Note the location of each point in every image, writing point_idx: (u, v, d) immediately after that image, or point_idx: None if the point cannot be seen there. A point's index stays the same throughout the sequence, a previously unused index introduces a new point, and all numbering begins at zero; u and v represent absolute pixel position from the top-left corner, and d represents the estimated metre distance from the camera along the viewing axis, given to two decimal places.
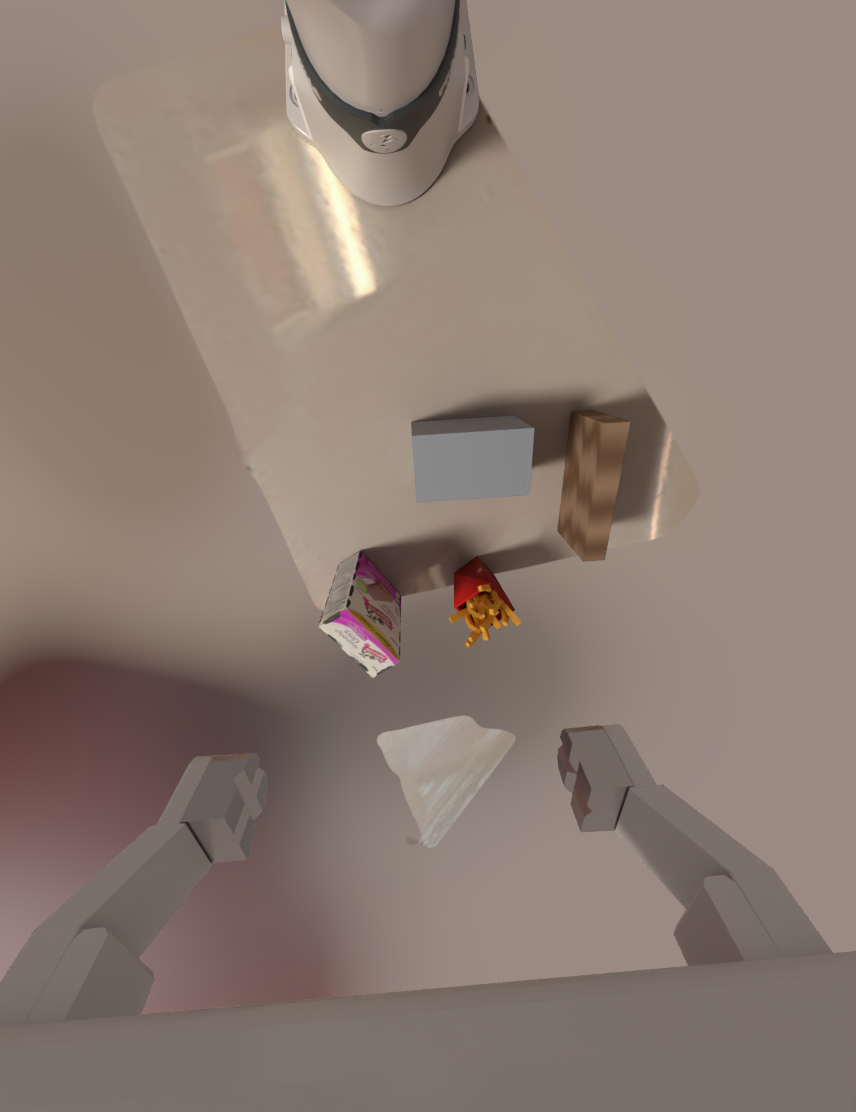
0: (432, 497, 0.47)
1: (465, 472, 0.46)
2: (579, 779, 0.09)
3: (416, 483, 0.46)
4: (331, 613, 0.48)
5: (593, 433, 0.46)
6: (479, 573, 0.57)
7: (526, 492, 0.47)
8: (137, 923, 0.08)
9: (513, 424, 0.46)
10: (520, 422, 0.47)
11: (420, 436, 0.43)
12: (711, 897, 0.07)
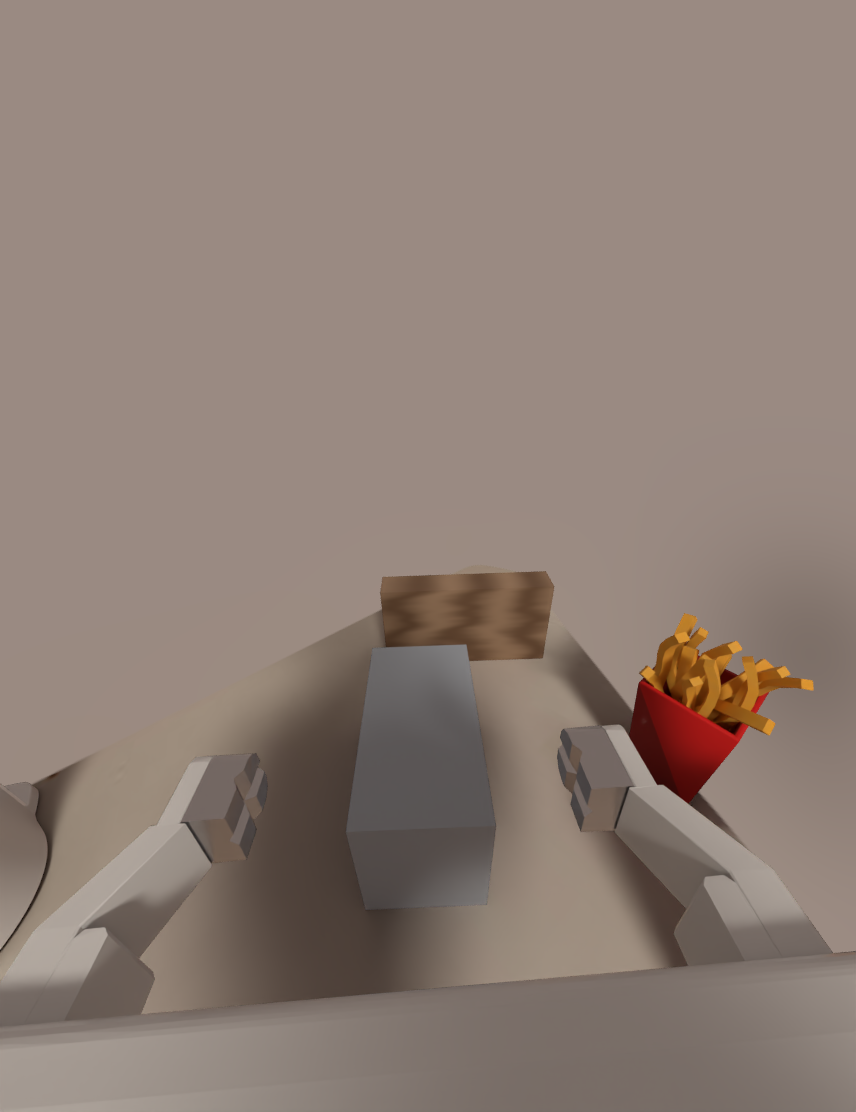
0: (481, 787, 0.22)
1: (430, 728, 0.26)
2: (580, 779, 0.09)
3: (450, 824, 0.20)
4: None
5: (396, 611, 0.41)
6: (642, 726, 0.30)
7: (462, 647, 0.32)
8: (137, 923, 0.08)
9: None
10: None
11: (350, 812, 0.21)
12: (711, 897, 0.07)
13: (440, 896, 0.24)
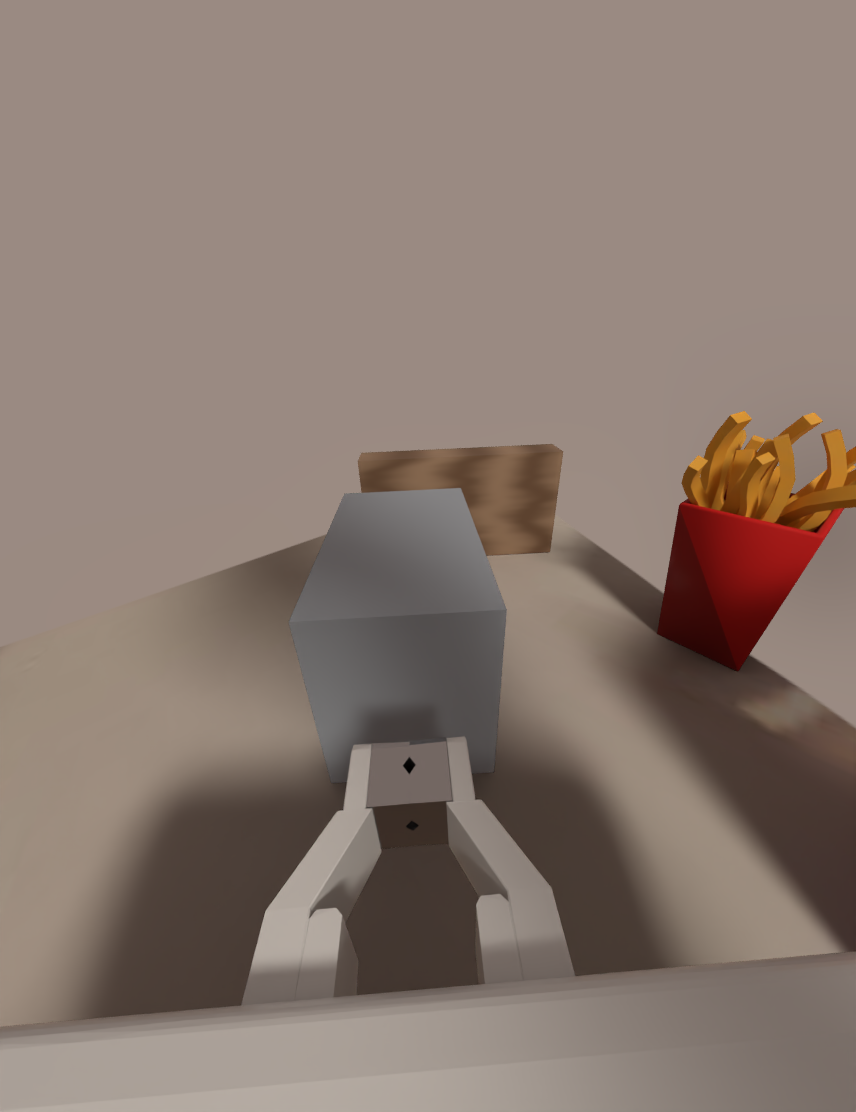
0: (484, 581, 0.16)
1: (414, 541, 0.19)
2: None
3: (440, 611, 0.14)
4: None
5: (378, 487, 0.34)
6: (683, 569, 0.24)
7: (456, 490, 0.26)
8: (338, 906, 0.08)
9: None
10: None
11: (298, 606, 0.15)
12: (480, 917, 0.07)
13: None
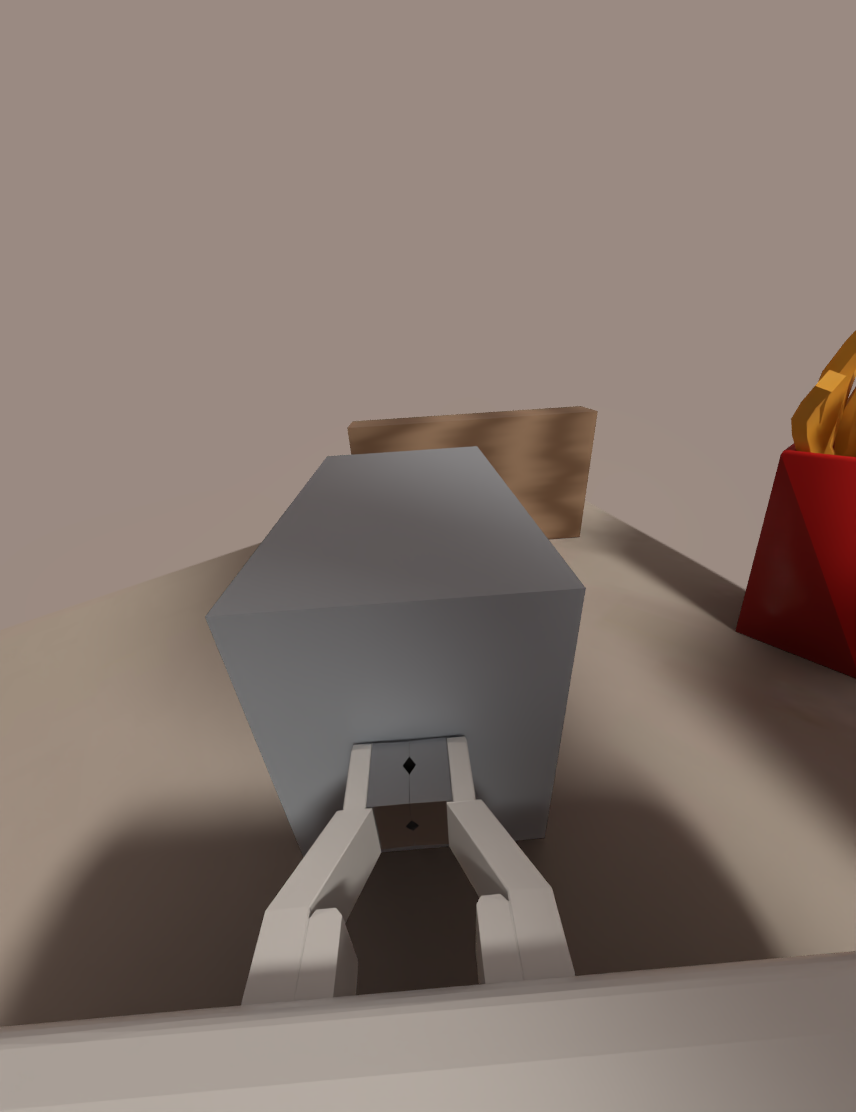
0: (535, 547, 0.10)
1: (420, 501, 0.13)
2: None
3: (470, 593, 0.08)
4: None
5: None
6: (781, 543, 0.18)
7: (471, 448, 0.20)
8: (338, 906, 0.08)
9: None
10: None
11: (229, 590, 0.09)
12: (480, 917, 0.07)
13: None
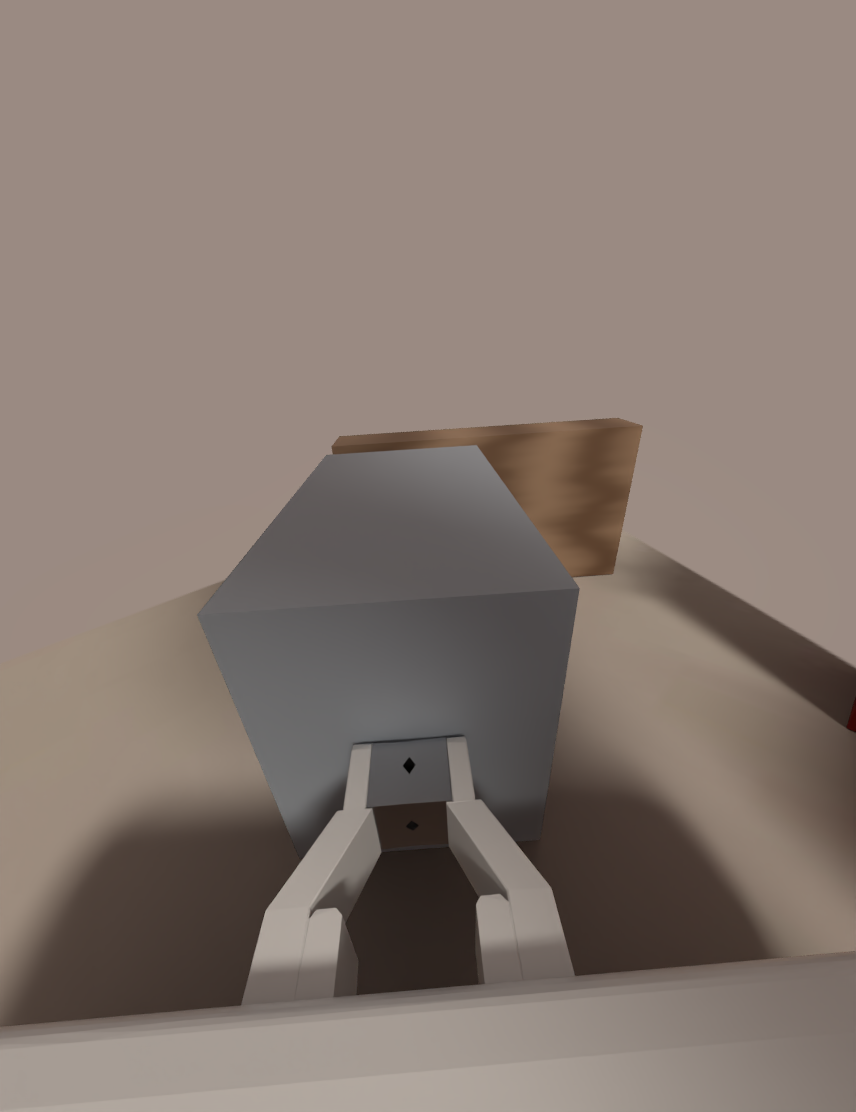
0: (530, 547, 0.10)
1: (417, 500, 0.13)
2: None
3: (463, 592, 0.08)
4: None
5: None
6: None
7: (471, 447, 0.20)
8: (338, 906, 0.08)
9: None
10: None
11: (222, 588, 0.09)
12: (479, 917, 0.07)
13: None
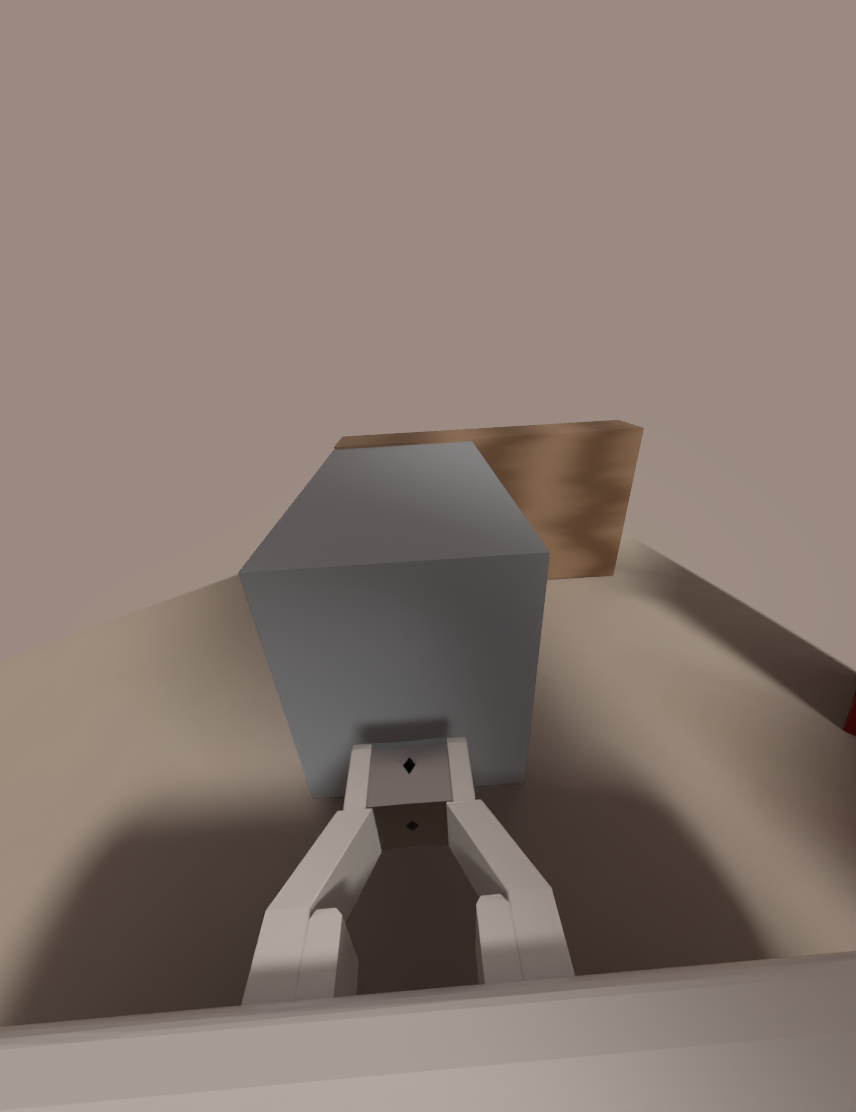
0: (512, 523, 0.12)
1: (417, 487, 0.15)
2: None
3: (455, 555, 0.10)
4: None
5: None
6: None
7: (466, 442, 0.22)
8: (339, 906, 0.08)
9: None
10: None
11: (256, 554, 0.11)
12: (480, 917, 0.07)
13: None
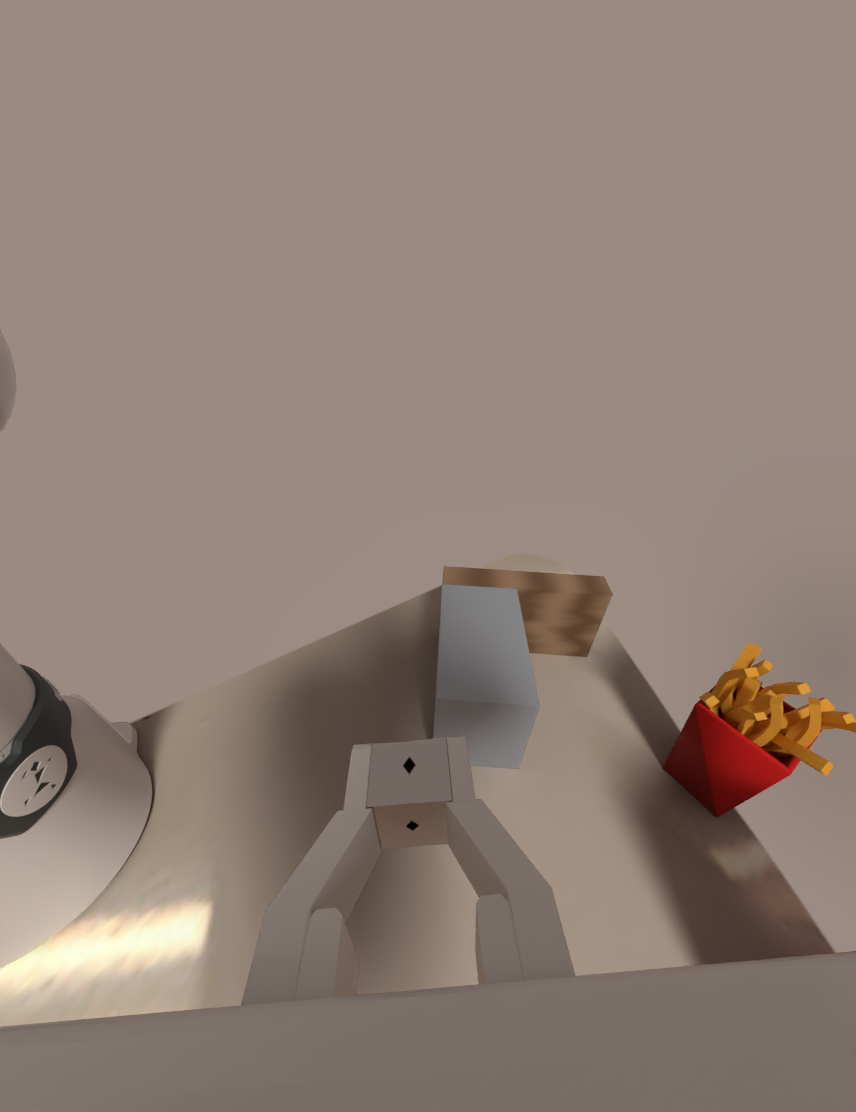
0: (529, 683, 0.31)
1: (491, 643, 0.35)
2: None
3: (507, 702, 0.30)
4: None
5: None
6: (690, 741, 0.32)
7: (514, 591, 0.41)
8: (339, 906, 0.08)
9: None
10: None
11: (438, 687, 0.31)
12: (480, 917, 0.07)
13: (487, 758, 0.34)
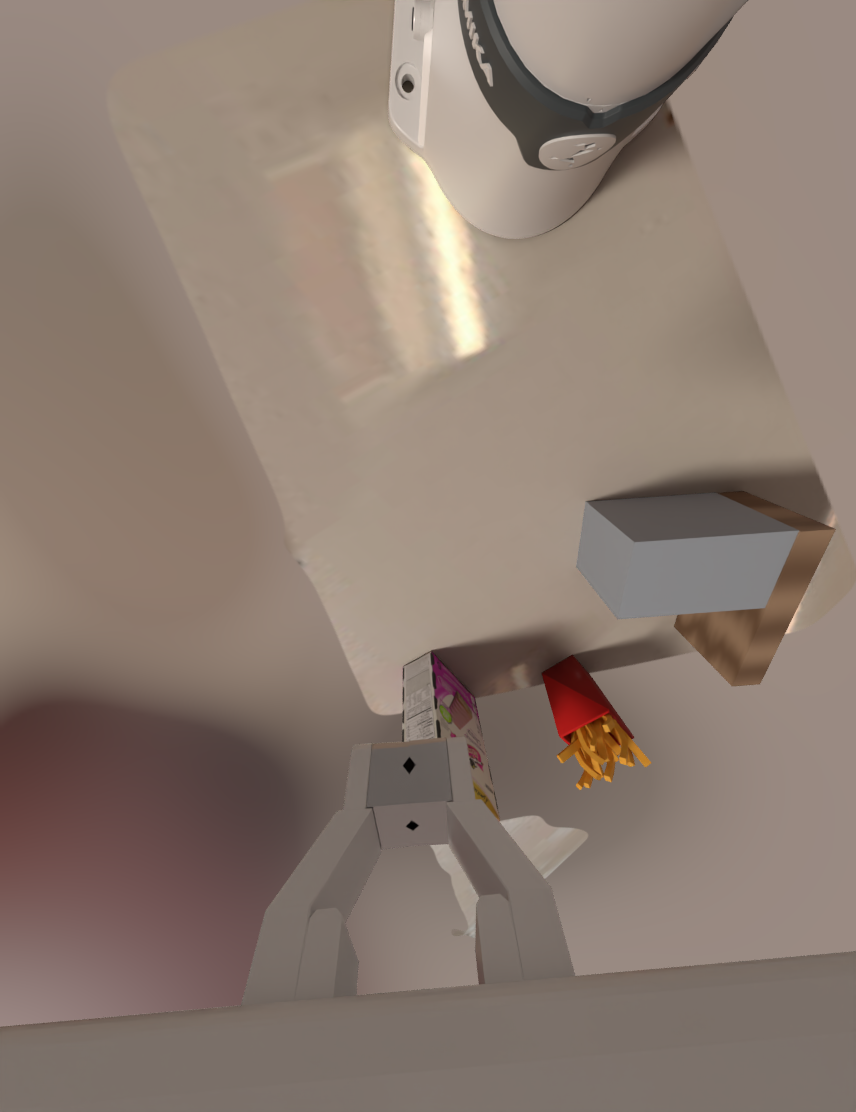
0: (639, 613, 0.35)
1: (690, 584, 0.34)
2: None
3: (623, 597, 0.35)
4: None
5: None
6: (585, 687, 0.46)
7: (762, 605, 0.36)
8: (339, 906, 0.08)
9: (751, 518, 0.35)
10: (754, 513, 0.36)
11: (645, 542, 0.32)
12: (480, 917, 0.07)
13: (585, 549, 0.42)
